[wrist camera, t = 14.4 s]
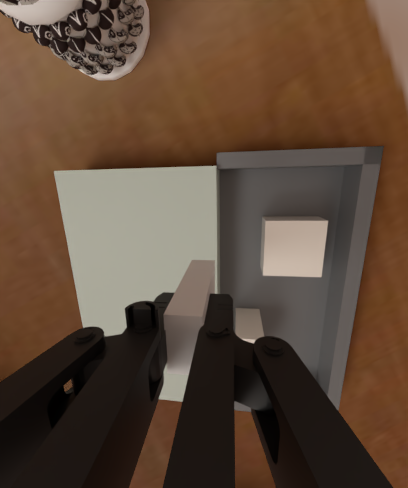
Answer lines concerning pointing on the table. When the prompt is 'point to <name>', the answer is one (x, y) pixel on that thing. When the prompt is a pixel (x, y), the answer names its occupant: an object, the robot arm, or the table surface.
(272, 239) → the tile
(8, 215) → the table surface
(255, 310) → the tile
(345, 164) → the tray
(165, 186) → the board
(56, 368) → the robot arm
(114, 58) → the black and white jar
